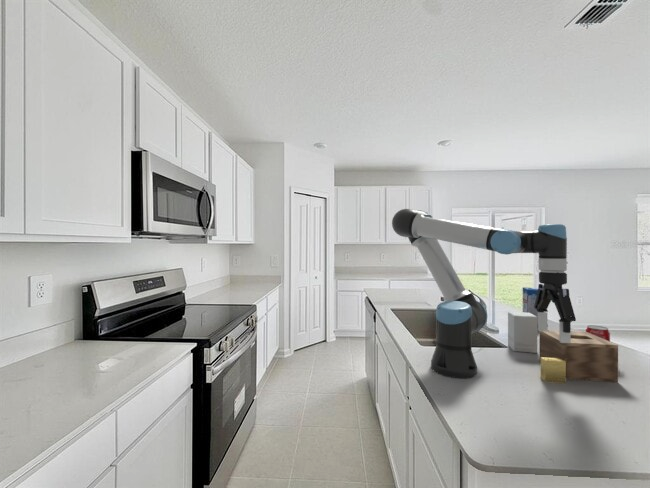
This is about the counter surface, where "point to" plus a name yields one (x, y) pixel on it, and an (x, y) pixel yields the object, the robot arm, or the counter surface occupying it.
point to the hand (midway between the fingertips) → (553, 336)
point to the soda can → (599, 331)
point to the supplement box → (522, 332)
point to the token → (553, 370)
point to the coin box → (582, 355)
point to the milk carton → (530, 301)
